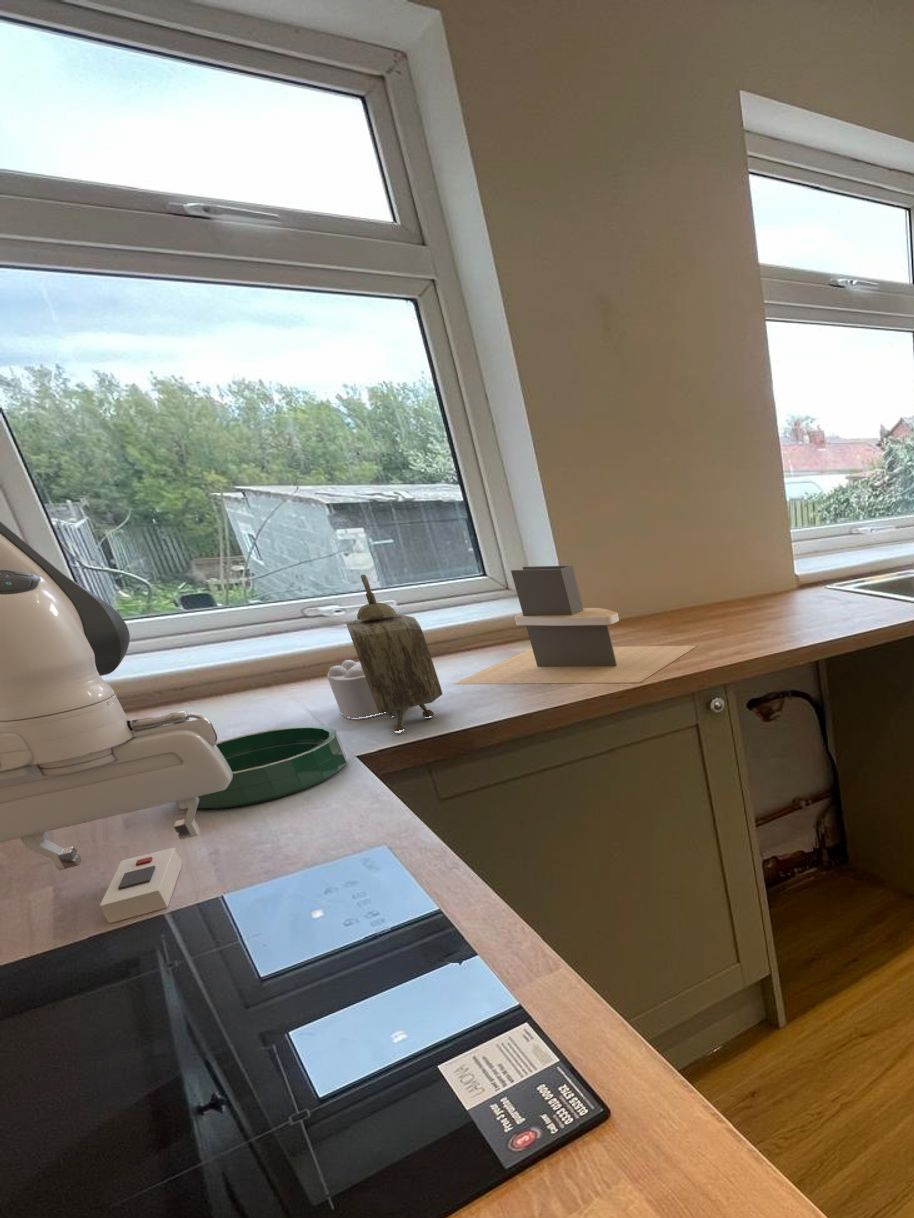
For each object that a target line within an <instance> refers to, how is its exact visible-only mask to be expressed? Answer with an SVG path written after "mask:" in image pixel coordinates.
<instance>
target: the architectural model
mask: <svg viewBox="0 0 914 1218" xmlns="http://www.w3.org/2000/svg"><path fill="white" fill-rule="evenodd" d="M510 572H511V576H512V580H513V583H514V586H515V591H516V595H517V598H518V601H519V605H520V609H521V613H518V614H517V615H515V616H514V621H515V623H516V626H525V628H526V631H527V635H528V638H529V641H530V646H531V648H530V649H527V650H525V651H523V652H521V653H518V654H516V655H514V656H511V657H509V658H507V659H505V660H503V661H501V662H498V663H496V664H493V665H492V666H490V667H488V668H485V669H483V670H481V671H479V672H476V673H473V674H472V675H470V676H469V675H468V676H467V677H465V678H463V679H460V680H459V681H456V682H454V683H453V685H489V684H490V685H494V684H495V685H497V684H499V685H500V684H502V685H505V684H508V685H509V684H510V685H511V684H513V685H515V684H607V683H608V684H610V683H612V684H614V683H615V684H616V683H618V684H619V683H620V684H622V683H623V684H624V683H631V684H632V683H641V682H643V681H645V680H646V679H648V678H649V677H651V676H652V675H654V674H655V673H657V672H658V671H660V670H662V669H663V668H665V667H667V666H668V665H669V664H671V663H672V662H674V661H676V660H677V659H679V658H681V657H682V656H684V655H686V654H687V653H688V652H690V651H691V650H693V649H695V648H697V645H650V646H649V645H647V646H645V645H644V646H643V645H642V646H638V645H637V646H613V641H612V638H611V633H610V629H609V625H613V624H616V623H617V622H619V621H620V619H619V614H618V612H617V611H613V610H610V609H606V608H603V607H583V603H582V599H581V594H580V589H579V586H578V582H577V579H576V574H575V570H574V566H573V565H539V566H538V565H535V566H522V569H511V570H510Z"/></svg>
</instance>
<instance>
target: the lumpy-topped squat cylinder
mask: <svg viewBox="0 0 914 1218" xmlns="http://www.w3.org/2000/svg"><path fill="white" fill-rule="evenodd" d="M326 677H327V680H328V682H329V686H330V689H331V690H332V693H333V696H334V699H335V701H336V704H337V706H338V709H339V712H340V714H341V713H342V714H343V715H342V714H341V715H342V716H343V717H344V718H346V719H348V720H352V721H360V720H368V719H372V718H376V717H379V716H383V715H386V713H383V714H380V715H376V716H373V717H368V718H362V719H351V718H359V717H366V716H370V715H375V714H379V712H378V710H377V707H376V704H375V702H374V699H373V696H372V694H371V691H370V688H369V685H368V683H367V680H366V677H365V674H364V672H363V669H362V666H361V663H360V661H354V660H352V659H345V660H344V661H342V662H341V664H340V665H333V666H330V668H329V669H328V673H327V674H326ZM410 708H411V707H408V709H410ZM345 716H346V717H345ZM347 717H350V718H347Z"/></svg>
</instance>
